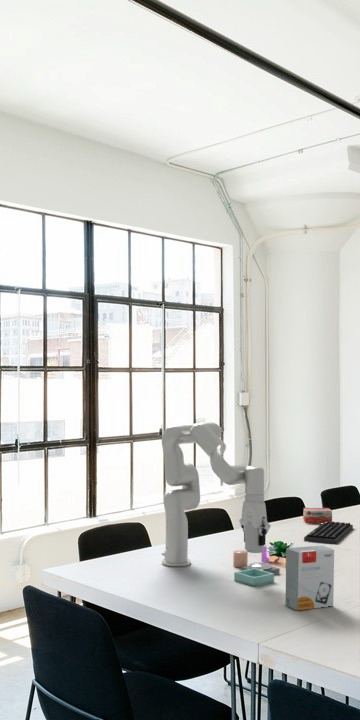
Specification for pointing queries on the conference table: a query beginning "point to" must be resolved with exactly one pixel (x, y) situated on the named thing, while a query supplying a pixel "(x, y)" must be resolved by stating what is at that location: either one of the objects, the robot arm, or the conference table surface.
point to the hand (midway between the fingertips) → (254, 543)
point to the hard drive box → (309, 577)
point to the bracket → (265, 554)
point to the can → (252, 539)
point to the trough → (254, 577)
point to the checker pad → (260, 566)
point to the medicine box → (317, 515)
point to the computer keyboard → (329, 532)
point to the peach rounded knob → (240, 558)
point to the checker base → (272, 570)
